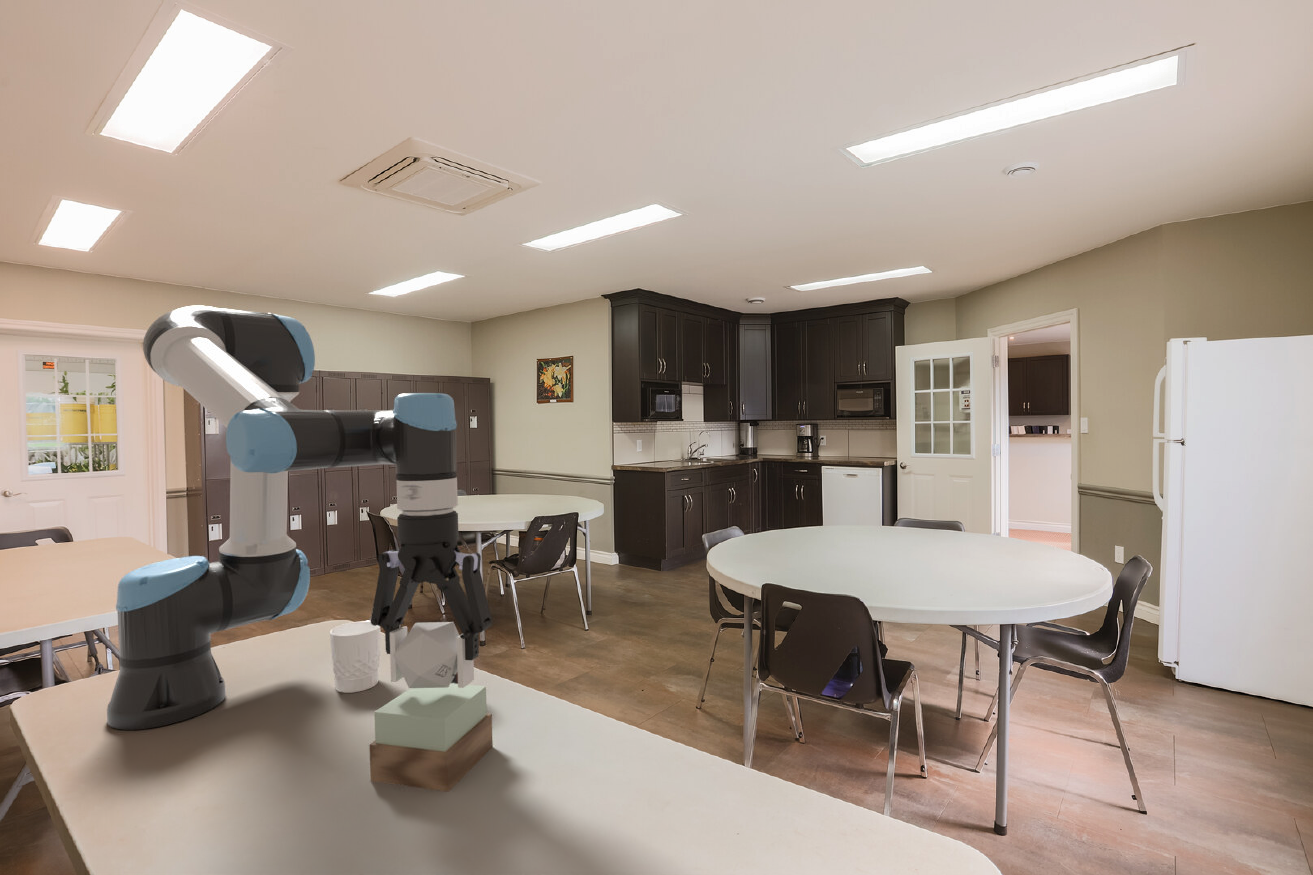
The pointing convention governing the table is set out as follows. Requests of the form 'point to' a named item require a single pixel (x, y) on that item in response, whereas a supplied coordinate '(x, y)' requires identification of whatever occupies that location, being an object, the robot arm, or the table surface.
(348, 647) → the white cup
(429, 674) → the die
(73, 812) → the table surface
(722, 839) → the table surface
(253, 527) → the robot arm
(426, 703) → the sage block
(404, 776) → the walnut slab
